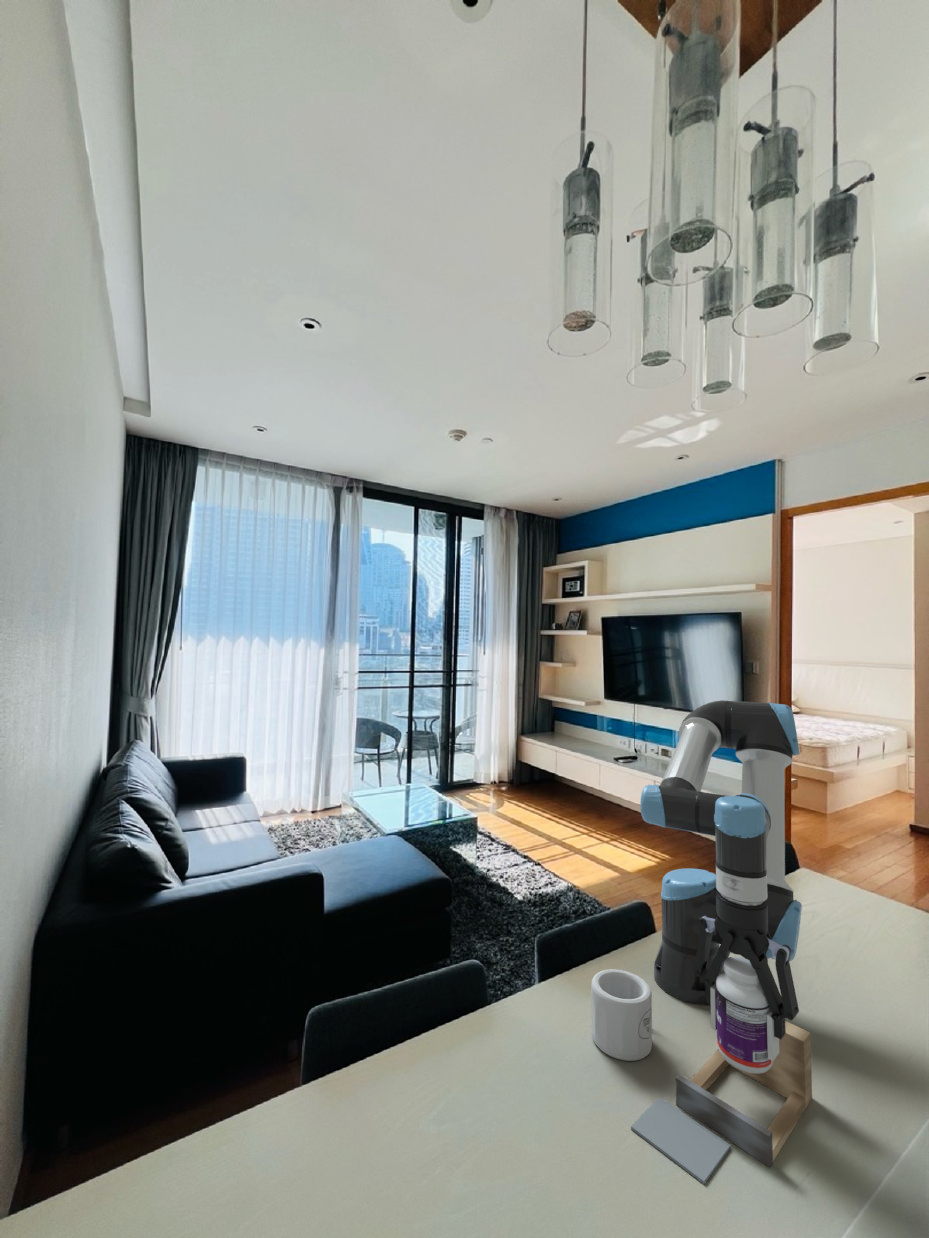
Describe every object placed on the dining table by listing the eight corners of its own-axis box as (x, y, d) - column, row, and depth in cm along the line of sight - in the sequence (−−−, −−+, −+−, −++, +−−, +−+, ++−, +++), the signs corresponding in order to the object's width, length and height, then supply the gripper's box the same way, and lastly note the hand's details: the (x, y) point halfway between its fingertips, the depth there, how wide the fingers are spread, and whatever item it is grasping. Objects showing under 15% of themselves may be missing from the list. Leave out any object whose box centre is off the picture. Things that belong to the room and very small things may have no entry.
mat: (630, 1128, 80) (630, 1126, 80) (659, 1099, 85) (659, 1096, 85) (704, 1184, 71) (704, 1181, 72) (730, 1147, 77) (730, 1144, 77)
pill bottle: (724, 1032, 92) (722, 946, 93) (777, 1055, 87) (775, 963, 88) (711, 1060, 86) (709, 967, 86) (767, 1086, 80) (765, 987, 81)
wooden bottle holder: (676, 1104, 84) (675, 1037, 85) (725, 1050, 96) (725, 992, 97) (769, 1167, 74) (768, 1090, 75) (812, 1097, 86) (810, 1032, 87)
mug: (635, 1072, 91) (635, 1011, 91) (580, 1040, 98) (580, 983, 99) (668, 1033, 100) (667, 978, 101) (615, 1007, 108) (615, 955, 109)
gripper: (669, 880, 93) (671, 1016, 92) (806, 928, 77) (810, 1092, 76) (690, 869, 98) (692, 998, 97) (822, 912, 82) (826, 1066, 81)
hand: (744, 1039), depth 86 cm, fingers closed on pill bottle, 8 cm apart
